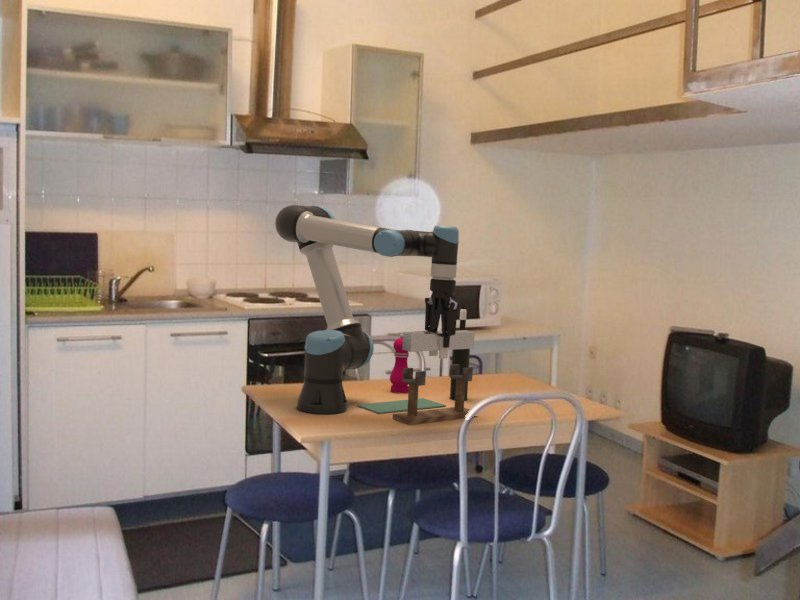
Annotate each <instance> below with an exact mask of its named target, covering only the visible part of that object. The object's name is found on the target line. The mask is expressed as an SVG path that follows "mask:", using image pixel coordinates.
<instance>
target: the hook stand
mask: <svg viewBox="0 0 800 600" xmlns="http://www.w3.org/2000/svg"><path fill="white" fill-rule="evenodd" d="M473 372H474V368H473V367H470V366H469V368H463V375H460V374H459V373H460V365H459V364H454V365H452V364H450V367H449V379H451V378H453V379H456V391H455V400H454V406H452V407H441V408H432V409H423V410H417V404H418V398H419V387H420V386H426V376H427V372H426V371H425V370H420V371H415V377H414V368H413V367H408V368H403V381H402V382H405V383H409V384H408V386H409V392H408V393H407V395H408V397H407V400H408V411H405V412H396V413H392V420H395V421H397V422H399V423H402V424H406V425H409V426H410V425H420V424H426V423H434V422H435V423H436V422H443V421H451V420H452V421H453V420H460V419H465V418H464V417H465V415H466V414H467V413H468V411H469V410H470V408H468V407H467V408H466V407H465V400H464V396H465V382H467V381H468V382H472V381H473V374H474V373H473Z"/></svg>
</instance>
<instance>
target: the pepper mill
mask: <svg viewBox="0 0 800 600" xmlns="http://www.w3.org/2000/svg"><path fill="white" fill-rule="evenodd" d="M403 333H404V332H403ZM403 333H400V335H399V337H397V338H396V339H395V340H394V341H393V344H392V345H393V350H394V355H393V356H394V358H395V361H394V365H393V368H392V370H391V372H390V376H389V381H390V383H391V384H392V385H390V392H391V393H394V394H395V393H396V394H408V392H409V383H405V382H402V381H403V368H409V365H408V358H409V357H410V352H409V351H405V350H402V346H403Z"/></svg>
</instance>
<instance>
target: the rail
mask: <svg viewBox="0 0 800 600" xmlns="http://www.w3.org/2000/svg"><path fill="white" fill-rule="evenodd" d="M446 332H447V331H446ZM475 334H476V332H475V331H471V330H466V329H465V330H460V331H459V330H456V332H455V335H452V336H450V342H449V348H448V351H451V350H454V349H470V350H471V349H472V350H473V349H475V348H474V347H475ZM440 335H442V330H439V331H438V330H437V331H433V332H428V331H415V332H413V331H411V332H403V346H402V350H405V351H408V353H410V352H411V353H412V352H413V353H414V352H429V351H435V350H438V351H439V349H440Z"/></svg>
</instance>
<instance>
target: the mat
mask: <svg viewBox="0 0 800 600" xmlns="http://www.w3.org/2000/svg"><path fill="white" fill-rule="evenodd" d="M356 407H357V408H361V409H364V410H366V411H370V412H371V413H375V414H378V415H382V414H395V413H404V412H407V411H408V399H401V400H390V401H380V402H371V403H360V404H356ZM440 408H447V405H446V404H445V403H444V404H443V403H440V402H437V401H433V400H430V399H427V398H424V397H418V404H417V411H422V410H431V409H440Z"/></svg>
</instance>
